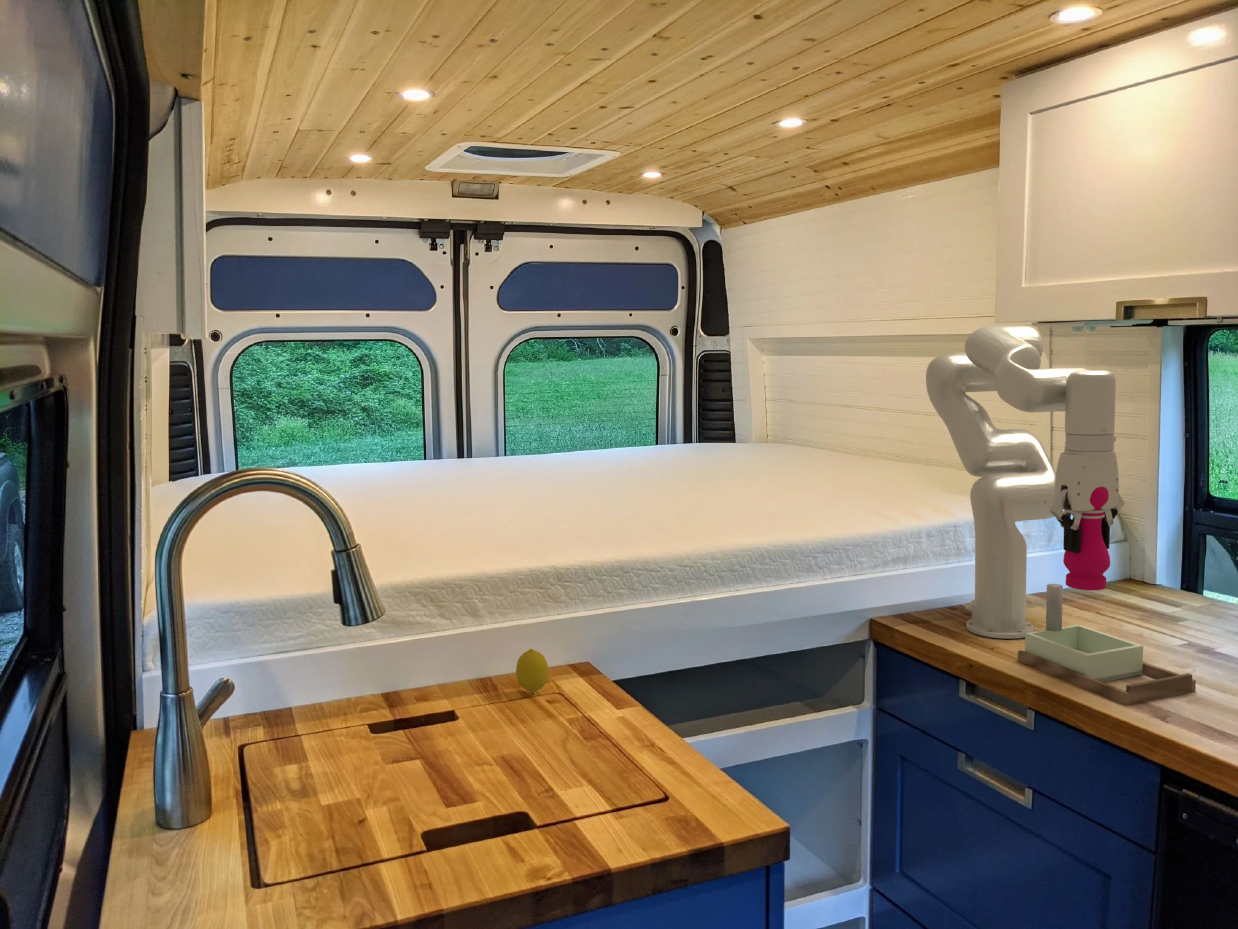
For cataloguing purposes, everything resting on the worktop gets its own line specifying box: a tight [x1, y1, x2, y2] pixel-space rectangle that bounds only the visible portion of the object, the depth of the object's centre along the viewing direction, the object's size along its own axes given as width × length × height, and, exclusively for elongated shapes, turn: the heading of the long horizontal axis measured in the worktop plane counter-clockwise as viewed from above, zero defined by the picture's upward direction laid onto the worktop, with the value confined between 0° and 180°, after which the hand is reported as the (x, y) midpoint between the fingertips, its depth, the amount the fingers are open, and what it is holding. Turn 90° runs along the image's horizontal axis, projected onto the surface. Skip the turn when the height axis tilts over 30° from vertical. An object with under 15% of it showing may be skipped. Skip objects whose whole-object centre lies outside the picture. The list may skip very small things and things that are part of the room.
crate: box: [1024, 583, 1144, 683], centre depth 167 cm, size 15×12×13 cm
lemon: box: [515, 648, 549, 694], centre depth 167 cm, size 6×6×8 cm
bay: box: [1017, 649, 1197, 706], centre depth 163 cm, size 23×14×4 cm, turn 19°
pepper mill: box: [1063, 487, 1111, 592], centre depth 164 cm, size 7×7×20 cm
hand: (1086, 548), depth 165 cm, fingers closed on pepper mill, 5 cm apart
